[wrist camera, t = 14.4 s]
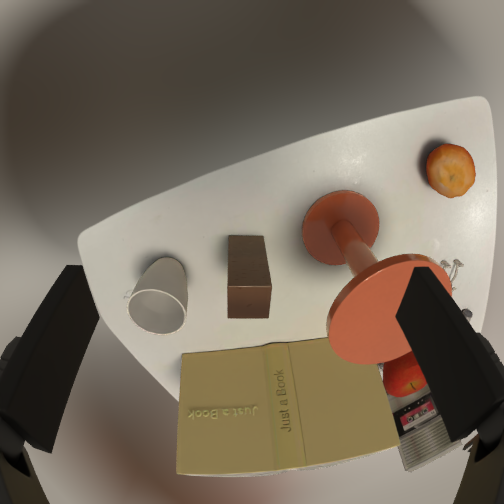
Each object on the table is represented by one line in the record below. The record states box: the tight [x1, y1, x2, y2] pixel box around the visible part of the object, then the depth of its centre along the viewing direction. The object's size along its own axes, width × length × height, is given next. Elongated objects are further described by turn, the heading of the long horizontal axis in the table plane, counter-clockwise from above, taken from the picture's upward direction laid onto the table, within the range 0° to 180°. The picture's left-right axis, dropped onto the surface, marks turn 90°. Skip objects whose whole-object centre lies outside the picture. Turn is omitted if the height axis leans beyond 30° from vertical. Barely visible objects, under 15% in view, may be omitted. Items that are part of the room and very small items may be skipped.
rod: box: [463, 309, 472, 322], centre depth 59 cm, size 12×3×3 cm, turn 179°
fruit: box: [426, 144, 476, 198], centre depth 37 cm, size 8×8×8 cm
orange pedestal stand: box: [302, 190, 452, 365], centre depth 37 cm, size 14×14×20 cm
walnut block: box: [227, 235, 272, 318], centre depth 41 cm, size 5×5×12 cm
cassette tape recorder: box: [383, 384, 462, 472], centre depth 57 cm, size 14×6×25 cm, turn 129°
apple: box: [383, 351, 427, 398], centre depth 56 cm, size 11×11×12 cm
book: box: [177, 338, 401, 477], centre depth 50 cm, size 36×8×24 cm, turn 96°
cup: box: [127, 257, 188, 335], centre depth 43 cm, size 8×8×10 cm
